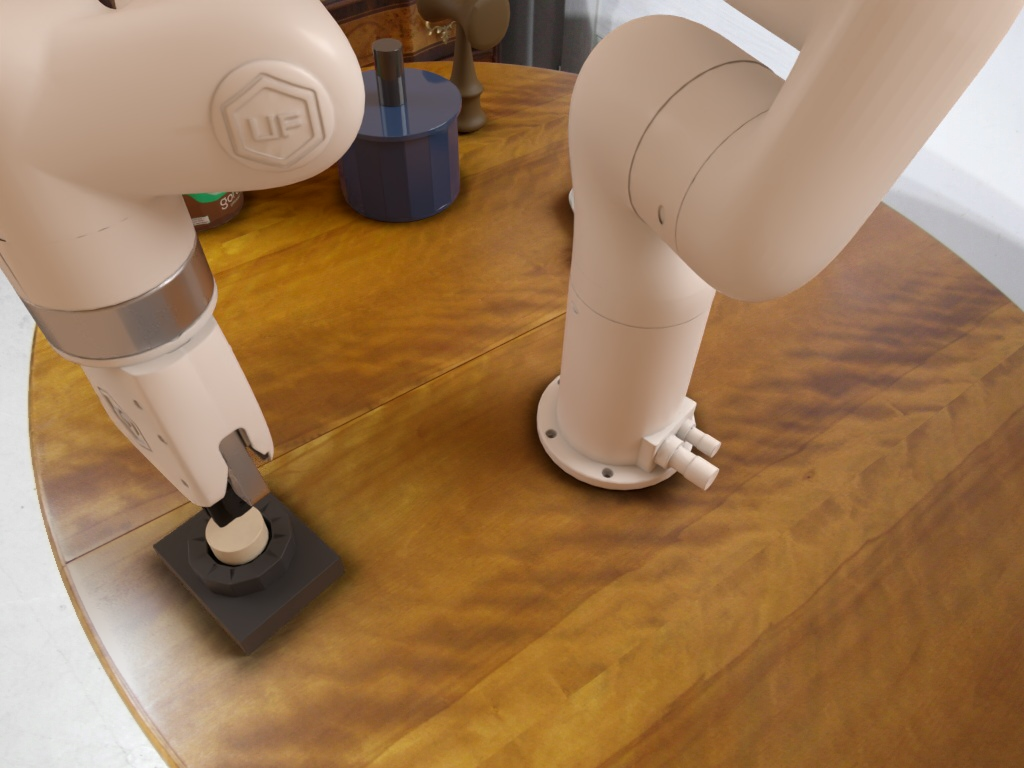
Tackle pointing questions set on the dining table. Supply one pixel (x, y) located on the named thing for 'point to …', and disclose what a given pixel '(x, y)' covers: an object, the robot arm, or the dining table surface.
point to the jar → (402, 176)
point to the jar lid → (404, 98)
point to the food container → (213, 208)
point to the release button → (238, 538)
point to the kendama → (469, 46)
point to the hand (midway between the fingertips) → (235, 505)
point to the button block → (253, 573)
